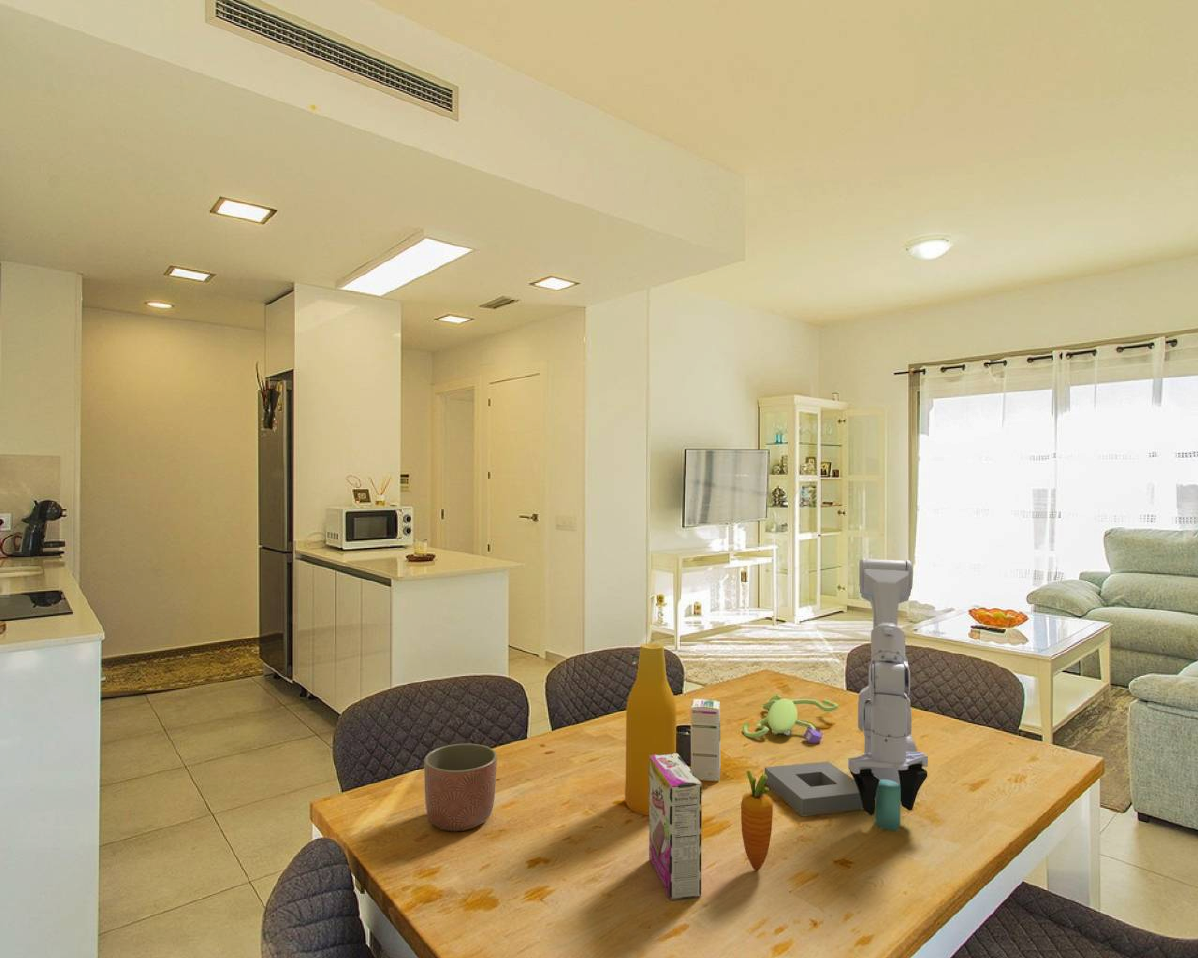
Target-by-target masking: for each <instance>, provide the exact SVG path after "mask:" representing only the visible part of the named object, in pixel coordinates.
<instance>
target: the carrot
mask: <svg viewBox="0 0 1198 958" xmlns="http://www.w3.org/2000/svg"><path fill="white" fill-rule="evenodd" d="M745 772H746V773H745V774H747V775H746V776H747V779H748V782H749V785H750V790H751V792H747V793H744V794H743V795H742V800H741V803H740V809H741V810H740V815H741V816H740V820H741V822H740V823H741V835H742V841H743V846H744V851H745V854H746V857H747V859H748V861H749V863H750V866H751V867H752V869H753V870H754V871H756V872H758V871H759V870H760V869H761V868H762V867H763V865H764V863H765V861H766V858H767V855H768V853H769V847H770V844H771V836H772V830H773V819H774V818H773V816H774V815H773V814H774V803H773V802H774V801H773V799H772V798H771V797H770V796H768V795H766V793H768V791H769V790H770V789H769V788H770V787H768V786H766V787H765V786H764V785H766V784H765V782H766V781H767V775H766V774H765V773H762V774H761V776H760V778H759V779H758V782H756V781H757V778H756V777H755V776H753V774H752V772H751V770H747V771H745Z"/></svg>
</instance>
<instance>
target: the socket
mask: <svg viewBox="0 0 1198 958" xmlns="http://www.w3.org/2000/svg"><path fill="white" fill-rule="evenodd" d="M764 774H766V775H767V781H766V782H765V784H764V785H766V786H767V787H768V788H770V789H771V790H772V791H773V792H774V793H776V794H777V795H778V796H779V797H780V798H781V799H782V800H784V801H785V802H786V803H787V804H788V805H789V806H790V807H791V808H792V809H793V810H794V811H796V812H797V813H798V815H800V816H801V817H808V816H814V815H815V816H817V815H824V814H832V813H833V814H834V813H840V812H849V811H857V810H858V811H859V810H863V805H862V801H861V797H860V793H859V790H858V787H857V785H856V783H855V780H854V778H853V777H852V776H850V775H848V774H847V773H845V772H844V771H842V769H840V768H838V767H837V766H836V765H834V764H832V763H831V762H830V761H827V760H826V761H818V762H817V761H816V762H809V763H808V762H806V763H797V764H786V765H778V766H767V767H766V766H765V767H764Z"/></svg>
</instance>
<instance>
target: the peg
mask: <svg viewBox="0 0 1198 958" xmlns="http://www.w3.org/2000/svg"><path fill="white" fill-rule="evenodd" d="M901 808H902V806H901V786H900V784H899V783H897V782H895V781H892V780H886V779H880V781H879V784H878V787H877V791H876V797H875V813H874V815H875V817H874V818H875V821H874V822H875V825H876V826H877V827H878V828H880V829H883V830H886V831H899V830H900V829H901V810H902V809H901Z"/></svg>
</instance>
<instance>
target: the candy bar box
mask: <svg viewBox="0 0 1198 958" xmlns="http://www.w3.org/2000/svg"><path fill="white" fill-rule="evenodd" d="M702 787H703V784H702V782H701V780H698V779H697V777H696V776H695V775H694V774H693V772H692V771H691V767H689V766H688V765H687V763H686V762H685V761H684V760H683V759H682V757H681V756H680V755H679V753H677V752H676V753H674V754H661V755H657V754H656V755H651V756H649V804H650V808H649V809H650V811H649V817H648V818H649V823H648V825H649V827H648V829H649V833H648V835H649V845H648V846H649V847H648V849H649V850H648V851H649V852H648V853H649V855H648V859H649V861H650V863H651V864H652V867H653V868H654V870H655V872H656V874H657V876H658V877H659V879H660V882H661V883H662V885H663V887H664V890H665V891H666V893H667V895H668V898H669V899H670V901H675V900H685V899H690V898H699V897H700V898H701V897H702V793H703V792H702V790H703V789H702Z"/></svg>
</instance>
